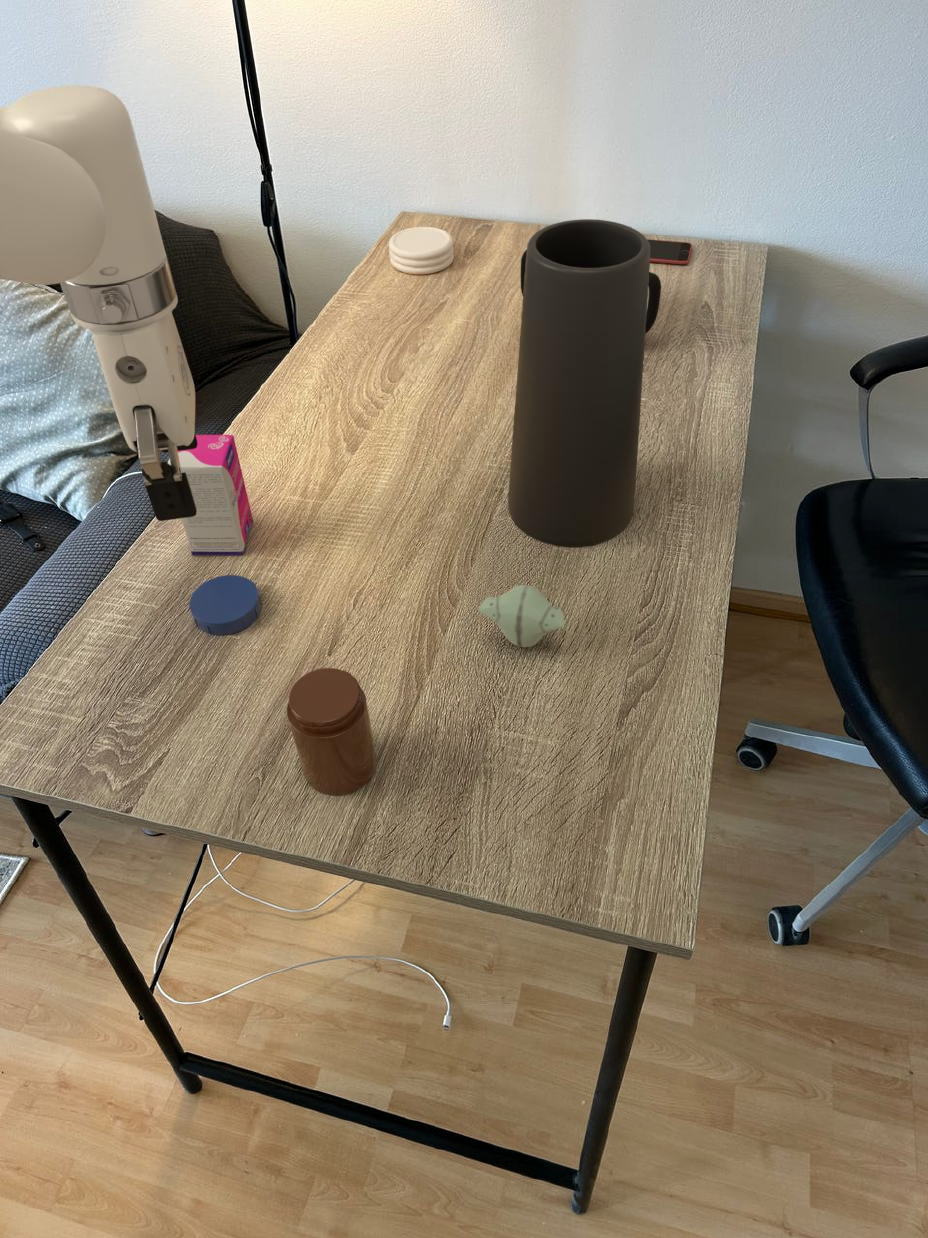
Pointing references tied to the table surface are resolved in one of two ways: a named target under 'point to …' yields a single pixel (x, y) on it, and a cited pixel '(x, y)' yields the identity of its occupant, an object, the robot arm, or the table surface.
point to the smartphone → (669, 251)
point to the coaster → (421, 250)
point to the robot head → (523, 615)
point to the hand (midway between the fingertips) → (178, 481)
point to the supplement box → (216, 497)
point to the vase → (579, 382)
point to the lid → (225, 605)
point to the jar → (332, 731)
